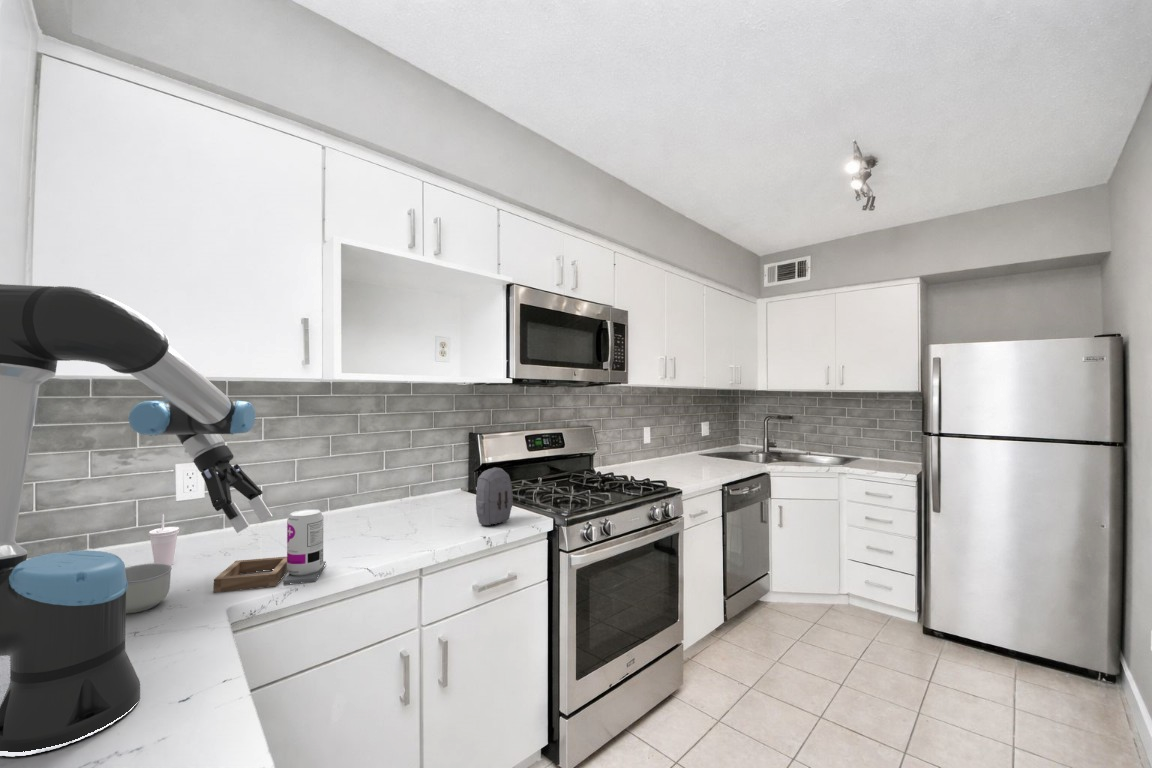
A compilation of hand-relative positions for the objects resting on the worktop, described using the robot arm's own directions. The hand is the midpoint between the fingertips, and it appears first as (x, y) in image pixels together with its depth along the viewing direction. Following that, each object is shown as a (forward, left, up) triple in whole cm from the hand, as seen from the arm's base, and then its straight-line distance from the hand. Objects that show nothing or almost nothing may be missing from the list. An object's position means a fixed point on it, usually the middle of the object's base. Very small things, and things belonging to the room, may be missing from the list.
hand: (256, 524), depth 121 cm
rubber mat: (+2, -11, -14) cm, 18 cm away
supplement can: (+2, -10, -14) cm, 17 cm away
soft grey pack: (+36, -63, -15) cm, 74 cm away
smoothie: (+19, +28, -15) cm, 37 cm away
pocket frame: (+2, +1, -14) cm, 15 cm away
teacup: (-10, +21, -15) cm, 27 cm away
